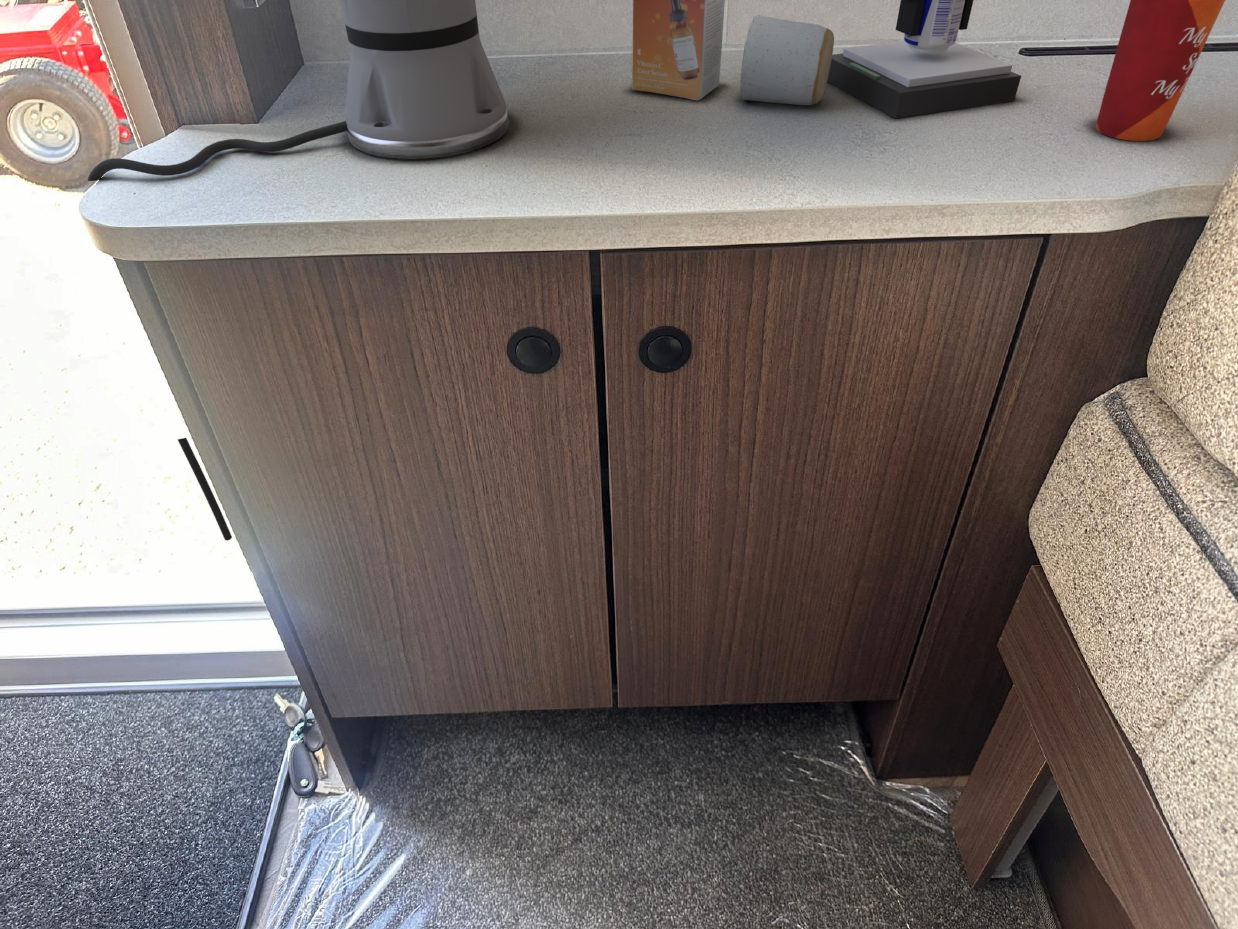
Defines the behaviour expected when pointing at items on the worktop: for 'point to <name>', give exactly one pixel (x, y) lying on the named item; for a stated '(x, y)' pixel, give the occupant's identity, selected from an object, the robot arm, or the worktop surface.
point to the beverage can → (937, 26)
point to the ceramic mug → (785, 61)
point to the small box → (677, 46)
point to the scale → (922, 78)
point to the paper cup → (1153, 65)
